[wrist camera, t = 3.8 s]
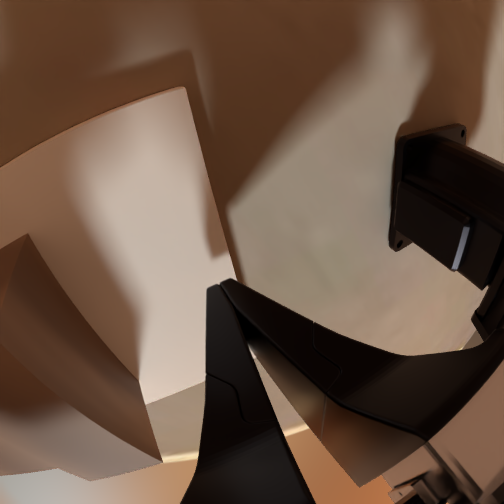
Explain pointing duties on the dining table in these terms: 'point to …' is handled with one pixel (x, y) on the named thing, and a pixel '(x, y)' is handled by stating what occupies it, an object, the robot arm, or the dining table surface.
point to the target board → (127, 232)
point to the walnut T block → (62, 382)
